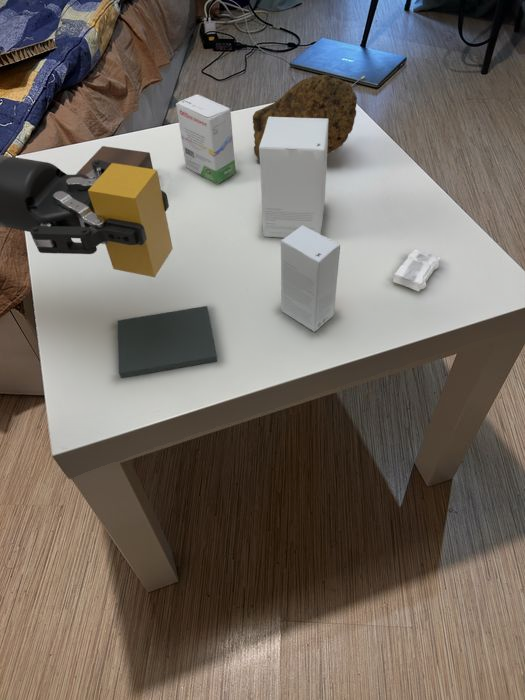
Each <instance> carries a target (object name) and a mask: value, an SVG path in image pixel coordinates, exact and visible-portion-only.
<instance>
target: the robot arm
mask: <svg viewBox="0 0 525 700" xmlns="http://www.w3.org/2000/svg"><path fill="white" fill-rule="evenodd" d="M110 165H111V163H108V162H105V161H102V160H94V161H93V162H92V167H93V170H92V171H90V172H89V173H88V174H86V175H84V174H74V173H73V174H67V173H66V172H64V171H62V170H61V169H60V168H59V167H58V166H56V165H55V164H53V163H52V162H47V161H40V160H34V159H28V158H22V157H16V156H15V157H14V156H10V155H3V154H0V227H1V228H2V227H3V228H8V229H12V230H16V231H23V232H28V233H30V235H31V238H32V240H33V243H34V245H35V246H36V249H37V251H38V252H39V253H41V254H63V255H64V254H65V255H66V254H67V255H68V254H71V255H92V254H95V253H96V252H98V246H99V245H100V244H101V245H105V244H107V243H109V242H110V241H111V242H116V243H122V244H127V245H143V244H144V243H145V241H146V240H147V237H146V233H145V229H144V226H143V225H141V224H139V223H134V222H128V221H123V220H117V219H112V218H109V219H108V220H107V221H105V219H104V218H103V217H101V216H99V215H96V214H95V211H94V208H93V205H92V202H91V199H90V196H89V192H88V190H89V189H90V187H91V186H92V185H93V184H94V183H95V182H96V181H97V179H98V178H99V177H100V176H101V175H102V174H103V173H104V172H105V170H106V169H107V168H108V167H109V166H110ZM161 192H162V197H163V202H164V207H165V212H167V210H168V209H169V208H170V205H169V198H168V194H167V193H166V191H164V190H162V189H161ZM73 239H79V240H80V242H77V241H76V242H75V241H73Z"/></svg>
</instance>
